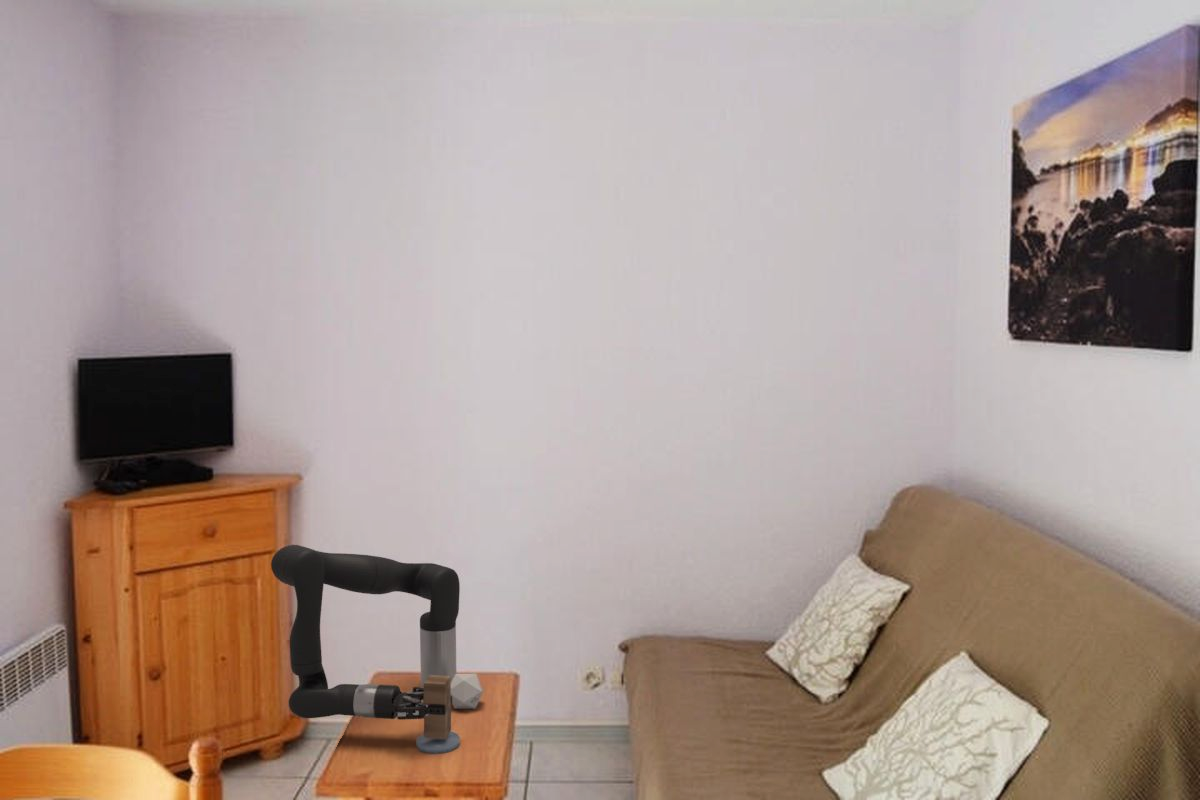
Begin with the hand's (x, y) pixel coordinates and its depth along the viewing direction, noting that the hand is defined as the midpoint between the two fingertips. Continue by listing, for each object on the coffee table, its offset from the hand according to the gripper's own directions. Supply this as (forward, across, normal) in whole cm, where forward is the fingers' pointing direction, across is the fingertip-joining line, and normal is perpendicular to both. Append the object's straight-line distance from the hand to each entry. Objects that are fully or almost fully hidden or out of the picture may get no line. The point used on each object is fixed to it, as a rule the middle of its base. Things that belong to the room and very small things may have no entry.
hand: (448, 705), depth 251 cm
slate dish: (-3, 0, +10) cm, 10 cm away
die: (-1, +22, +10) cm, 25 cm away
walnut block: (-3, 0, +7) cm, 7 cm away
